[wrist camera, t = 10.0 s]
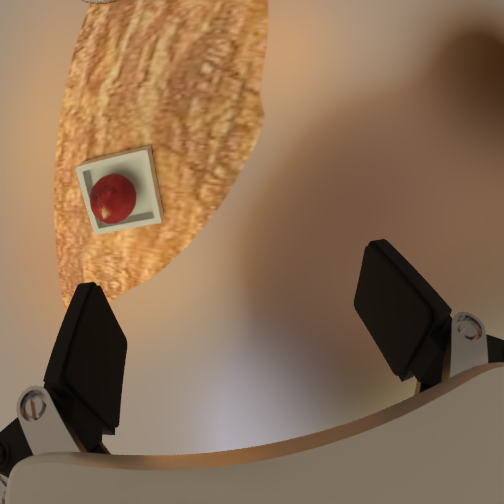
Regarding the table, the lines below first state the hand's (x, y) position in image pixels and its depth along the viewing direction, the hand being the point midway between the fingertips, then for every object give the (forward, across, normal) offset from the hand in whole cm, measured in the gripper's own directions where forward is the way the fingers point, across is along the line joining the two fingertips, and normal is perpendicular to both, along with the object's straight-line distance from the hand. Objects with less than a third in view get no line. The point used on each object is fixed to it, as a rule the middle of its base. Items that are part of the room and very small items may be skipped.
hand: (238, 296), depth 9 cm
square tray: (+28, +12, +4) cm, 31 cm away
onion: (+28, +12, +4) cm, 31 cm away
